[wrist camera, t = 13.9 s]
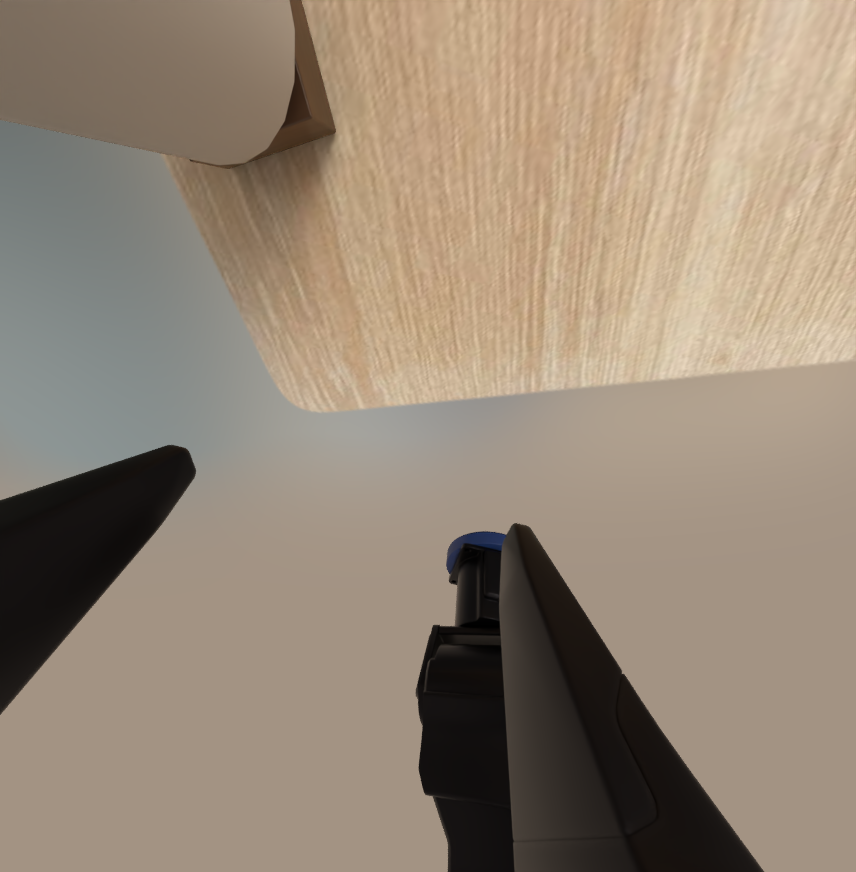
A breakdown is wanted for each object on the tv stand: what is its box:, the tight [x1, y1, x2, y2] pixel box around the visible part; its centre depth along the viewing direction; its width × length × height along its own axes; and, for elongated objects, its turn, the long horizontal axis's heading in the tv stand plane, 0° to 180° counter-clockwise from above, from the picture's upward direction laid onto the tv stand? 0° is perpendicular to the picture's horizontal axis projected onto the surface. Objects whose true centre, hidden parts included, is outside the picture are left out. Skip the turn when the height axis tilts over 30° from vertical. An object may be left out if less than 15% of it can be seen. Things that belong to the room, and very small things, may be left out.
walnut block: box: [189, 0, 336, 169], centre depth 12 cm, size 6×6×2 cm
